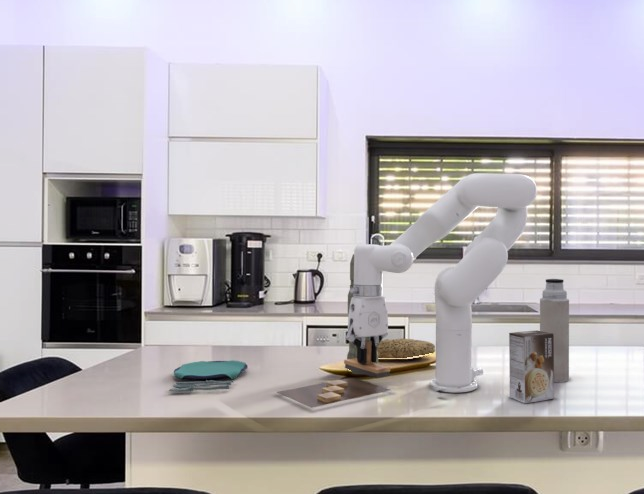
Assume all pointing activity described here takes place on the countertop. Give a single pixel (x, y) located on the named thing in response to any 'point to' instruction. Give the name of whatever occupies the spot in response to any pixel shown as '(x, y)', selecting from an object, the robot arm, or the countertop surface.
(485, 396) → the countertop surface
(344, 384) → the crumb
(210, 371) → the cutlery set
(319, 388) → the tray
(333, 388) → the crumb
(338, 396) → the crumb
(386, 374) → the wooden knob plate
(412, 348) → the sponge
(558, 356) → the thermos bottle
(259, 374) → the countertop surface
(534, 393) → the brown white upright box
